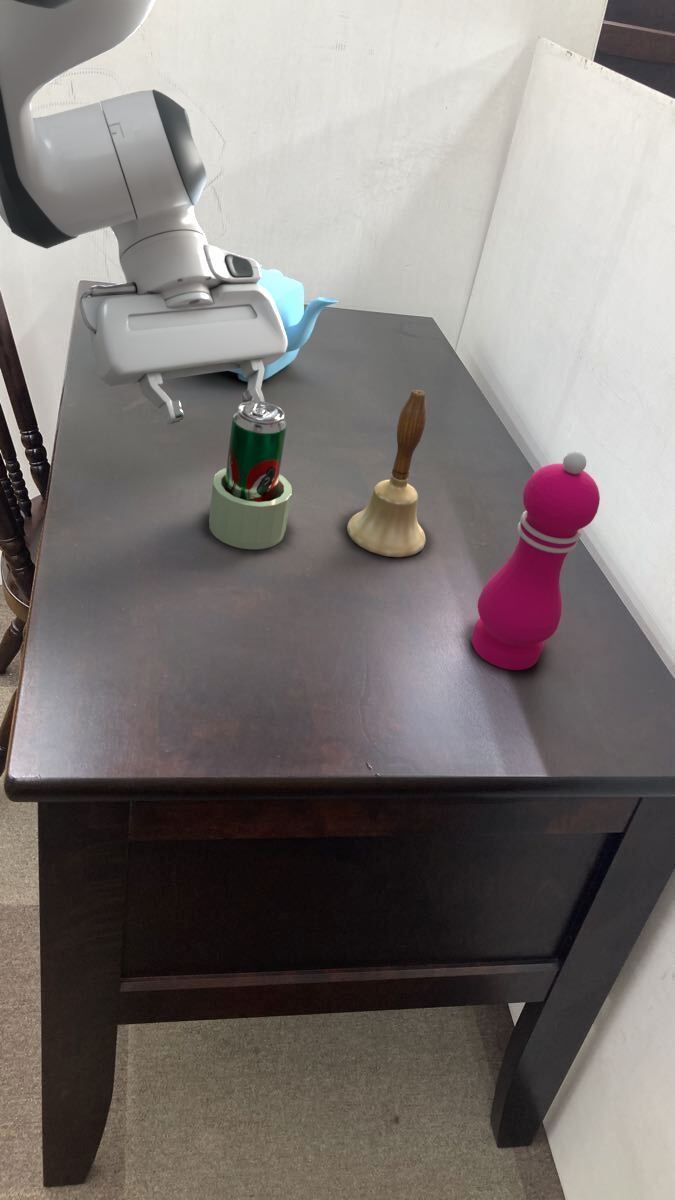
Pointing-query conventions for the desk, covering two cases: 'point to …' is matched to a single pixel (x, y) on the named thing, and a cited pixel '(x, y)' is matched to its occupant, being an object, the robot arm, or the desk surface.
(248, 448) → the soda can
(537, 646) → the pepper mill
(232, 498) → the socket
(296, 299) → the teapot
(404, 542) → the hand bell
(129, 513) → the desk surface
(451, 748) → the desk surface
